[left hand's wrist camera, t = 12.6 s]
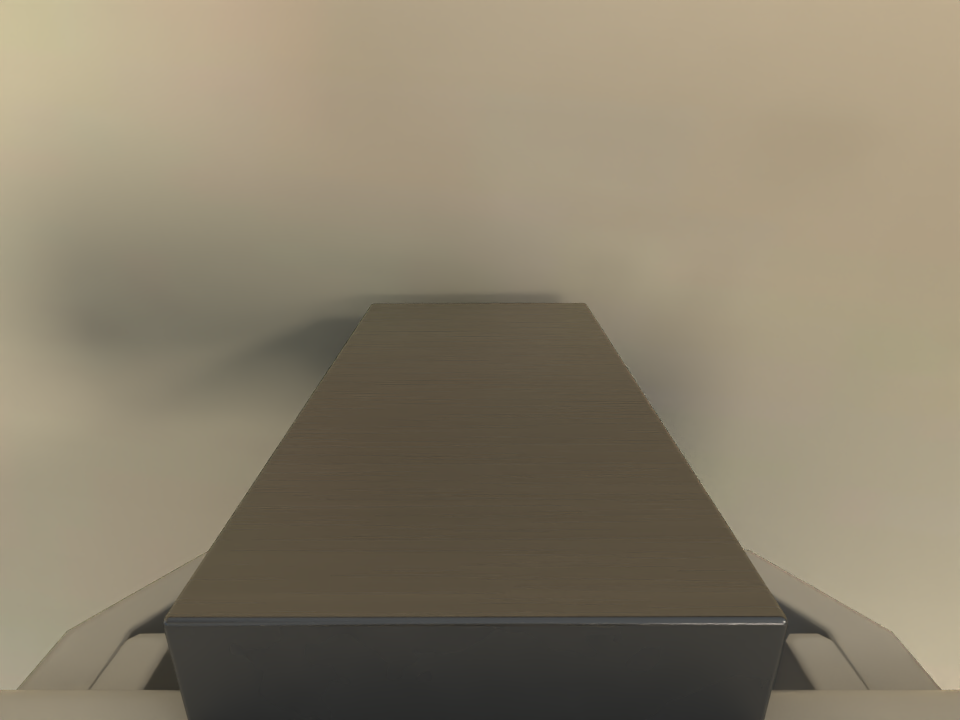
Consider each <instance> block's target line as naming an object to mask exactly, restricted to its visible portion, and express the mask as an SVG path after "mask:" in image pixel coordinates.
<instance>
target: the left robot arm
mask: <svg viewBox="0 0 960 720" xmlns="http://www.w3.org/2000/svg"><path fill="white" fill-rule="evenodd" d="M207 553H208V551H207V552H206V553H204V554H202V555H200V556H199V557H197V558H195V559H193V560H191V561H190V562H188V563H186V564H184V565H183V566H181V567H179V568H177V569H176V570H174V571H172V572H170V573H169V574H167V575H165V576H163V577H162V578H160V579H158V580H156V581H154V582H153V583H151V584H149V585H147V586H146V587H144V588H142V589H140V590H139V591H137V592H135V593H133V594H132V595H130V596H128V597H126V598H124V599H123V600H121V601H119V602H117V603H116V604H114V605H112V606H110V607H109V608H107V609H105V610H103V611H102V612H100V613H98V614H96V615H95V616H93V617H91V618H89V619H87V620H86V621H84V622H82V623H80V624H79V625H77V626H75V627H73V628H72V629H70V630H68V631H67V632H66V633H65V634H64V635H63V636H62V638H61V639H60V640H59V641H58V642H57V643H56V645H55V646H54V647H53V648H52V649H51V650H50V651H49V653H48V654H47V655H46V656H45V657H44V658H43V660H42V661H41V662H40V663H39V664H38V665H37V667H36V668H35V669H34V670H33V671H32V672H31V674H30V675H29V676H28V677H27V678H26V679H25V681H24V682H23V683H22V684H21V685H20V686H19V688H18V689H17V690H0V720H188V719H187V715H186V711H185V707H184V704H183V700H182V696H181V692H180V689H179V685H178V681H177V677H176V674H175V670H174V666H173V662H172V658H171V655H170V651H169V647H168V643H167V640H166V636H165V632H164V628H163V623H164V619H165V616H166V614H167V613H168V611H169V610H170V608H171V607H172V605H173V604H174V602H175V601H176V599H177V598H178V596H179V595H180V593H181V592H182V590H183V589H184V587H185V586H186V584H187V583H188V581H189V580H190V578H191V577H192V575H193V574H194V572H195V571H196V569H197V568H198V566H199V565H200V563H201V562H202V560H203V559H204V557H205V556H206V554H207ZM745 553H746V554H747V556H748V558H749V559H750V561H751V562H752V564H753V565H754V567H755V568H756V570H757V572H758V573H759V575H760V576H761V578H762V579H763V581H764V583H765V584H766V586H767V587H768V589H769V590H770V592H771V593H772V595H773V597H774V598H775V600H776V601H777V603H778V604H779V606H780V607H781V609H782V611H783V612H784V614H785V615H786V618H787V622H788V627H787V631H786V635H785V639H784V643H783V647H782V651H781V655H780V659H779V663H778V667H777V671H776V675H775V679H774V683H773V687H772V691H771V695H770V699H769V703H768V707H767V711H766V715H765V719H764V720H960V690H941V689H940V688H939V686H938V685H937V684H936V683H935V682H934V681H933V679H932V678H931V677H930V676H929V675H928V673H927V672H926V671H925V670H924V669H923V668H922V666H921V665H920V664H919V663H918V662H917V661H916V659H915V658H914V657H913V656H912V655H911V654H910V652H909V651H908V650H907V649H906V648H905V646H904V645H903V644H902V643H901V642H900V641H899V639H898V638H897V637H896V636H895V635H894V634H893V632H891V631H890V630H888V629H886V628H884V627H883V626H881V625H879V624H877V623H876V622H874V621H872V620H870V619H869V618H867V617H865V616H863V615H862V614H860V613H858V612H856V611H855V610H853V609H851V608H849V607H848V606H846V605H844V604H842V603H841V602H839V601H837V600H835V599H834V598H832V597H830V596H828V595H826V594H825V593H823V592H821V591H819V590H818V589H816V588H814V587H812V586H811V585H809V584H807V583H805V582H804V581H802V580H800V579H798V578H797V577H795V576H793V575H791V574H790V573H788V572H786V571H784V570H783V569H781V568H779V567H777V566H776V565H774V564H772V563H770V562H769V561H767V560H765V559H763V558H762V557H760V556H758V555H756V554H755V553H753V552H751V551H745Z"/></svg>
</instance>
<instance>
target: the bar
mask: <svg viewBox="0 0 960 720" xmlns="http://www.w3.org/2000/svg"><path fill="white" fill-rule="evenodd" d="M787 627H788V622H787V618H786V615H785V614H784V612H783V611H782V609H781V607H780V606H779V604H778V603H777V601H776V600H775V598H774V597H773V595H772V593H771V592H770V590H769V589H768V587H767V586H766V584H765V583H764V581H763V579H762V578H761V576H760V575H759V573H758V572H757V570H756V568H755V567H754V565H753V564H752V562H751V561H750V559H749V558H748V556H747V554H746V553H745V551H744V550H743V548H742V547H741V545H740V544H739V542H738V540H737V539H736V537H735V536H734V534H733V533H732V531H731V529H730V528H729V526H728V525H727V523H726V522H725V520H724V519H723V517H722V515H721V514H720V512H719V511H718V509H717V508H716V506H715V505H714V503H713V501H712V500H711V498H710V497H709V495H708V494H707V492H706V490H705V489H704V487H703V486H702V484H701V483H700V481H699V480H698V478H697V476H696V475H695V473H694V472H693V470H692V469H691V467H690V466H689V464H688V462H687V461H686V459H685V458H684V456H683V455H682V453H681V451H680V450H679V448H678V447H677V445H676V444H675V442H674V441H673V439H672V437H671V436H670V434H669V433H668V431H667V430H666V428H665V427H664V425H663V423H662V422H661V420H660V419H659V417H658V416H657V414H656V412H655V411H654V409H653V408H652V406H651V405H650V403H649V402H648V400H647V398H646V397H645V395H644V394H643V392H642V391H641V389H640V388H639V386H638V384H637V383H636V381H635V380H634V378H633V377H632V375H631V373H630V372H629V370H628V369H627V367H626V366H625V364H624V363H623V361H622V359H621V358H620V356H619V355H618V353H617V352H616V350H615V349H614V347H613V345H612V344H611V342H610V341H609V339H608V338H607V336H606V335H605V333H604V331H603V330H602V328H601V327H600V325H599V324H598V322H597V320H596V319H595V317H594V316H593V314H592V313H591V311H590V310H589V308H588V306H587V305H586V304H585V303H447V304H372V305H371V306H370V308H369V309H368V311H367V312H366V314H365V315H364V317H363V318H362V320H361V321H360V323H359V324H358V326H357V327H356V329H355V330H354V332H353V333H352V335H351V337H350V338H349V340H348V341H347V343H346V344H345V346H344V347H343V349H342V350H341V352H340V353H339V355H338V356H337V358H336V359H335V361H334V362H333V364H332V365H331V367H330V368H329V370H328V371H327V373H326V374H325V376H324V377H323V379H322V380H321V382H320V383H319V385H318V386H317V388H316V389H315V391H314V392H313V394H312V395H311V397H310V398H309V400H308V401H307V403H306V404H305V406H304V408H303V409H302V411H301V412H300V414H299V415H298V417H297V418H296V420H295V421H294V423H293V424H292V426H291V427H290V429H289V430H288V432H287V433H286V435H285V436H284V438H283V439H282V441H281V442H280V444H279V445H278V447H277V448H276V450H275V451H274V453H273V454H272V456H271V457H270V459H269V460H268V462H267V463H266V465H265V466H264V468H263V469H262V471H261V472H260V474H259V475H258V477H257V479H256V480H255V482H254V483H253V485H252V486H251V488H250V489H249V491H248V492H247V494H246V495H245V497H244V498H243V500H242V501H241V503H240V504H239V506H238V507H237V509H236V510H235V512H234V513H233V515H232V516H231V518H230V519H229V521H228V522H227V524H226V525H225V527H224V528H223V530H222V531H221V533H220V534H219V536H218V537H217V539H216V540H215V542H214V543H213V545H212V546H211V548H210V550H209V551H208V553H207V554H206V556H205V557H204V559H203V560H202V562H201V563H200V565H199V566H198V568H197V569H196V571H195V572H194V574H193V575H192V577H191V578H190V580H189V581H188V583H187V584H186V586H185V587H184V589H183V590H182V592H181V593H180V595H179V596H178V598H177V599H176V601H175V602H174V604H173V605H172V607H171V608H170V610H169V611H168V613H167V614H166V616H165V619H164V623H163V628H164V632H165V636H166V640H167V643H168V647H169V651H170V655H171V658H172V662H173V666H174V670H175V674H176V677H177V681H178V685H179V689H180V692H181V696H182V700H183V704H184V707H185V711H186V715H187V719H188V720H764V719H765V715H766V711H767V707H768V703H769V699H770V695H771V691H772V687H773V683H774V679H775V675H776V671H777V667H778V663H779V659H780V655H781V651H782V647H783V643H784V639H785V635H786V631H787Z"/></svg>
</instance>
